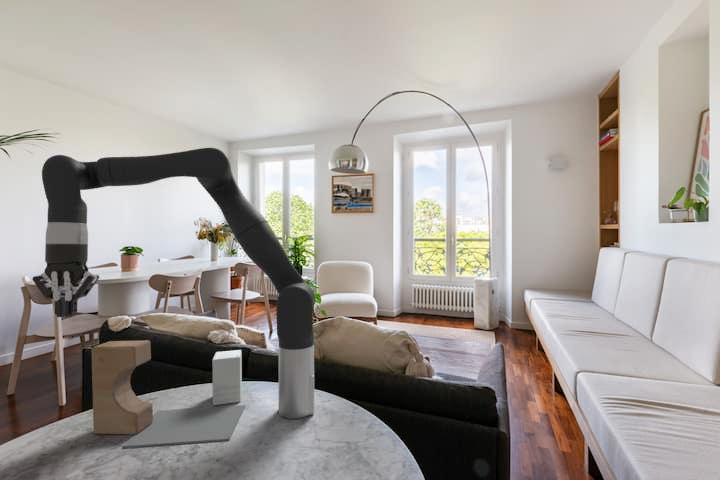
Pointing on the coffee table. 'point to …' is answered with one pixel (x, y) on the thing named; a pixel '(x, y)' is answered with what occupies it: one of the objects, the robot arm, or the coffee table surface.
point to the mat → (188, 426)
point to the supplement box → (227, 377)
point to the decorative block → (118, 388)
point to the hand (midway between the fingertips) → (65, 316)
